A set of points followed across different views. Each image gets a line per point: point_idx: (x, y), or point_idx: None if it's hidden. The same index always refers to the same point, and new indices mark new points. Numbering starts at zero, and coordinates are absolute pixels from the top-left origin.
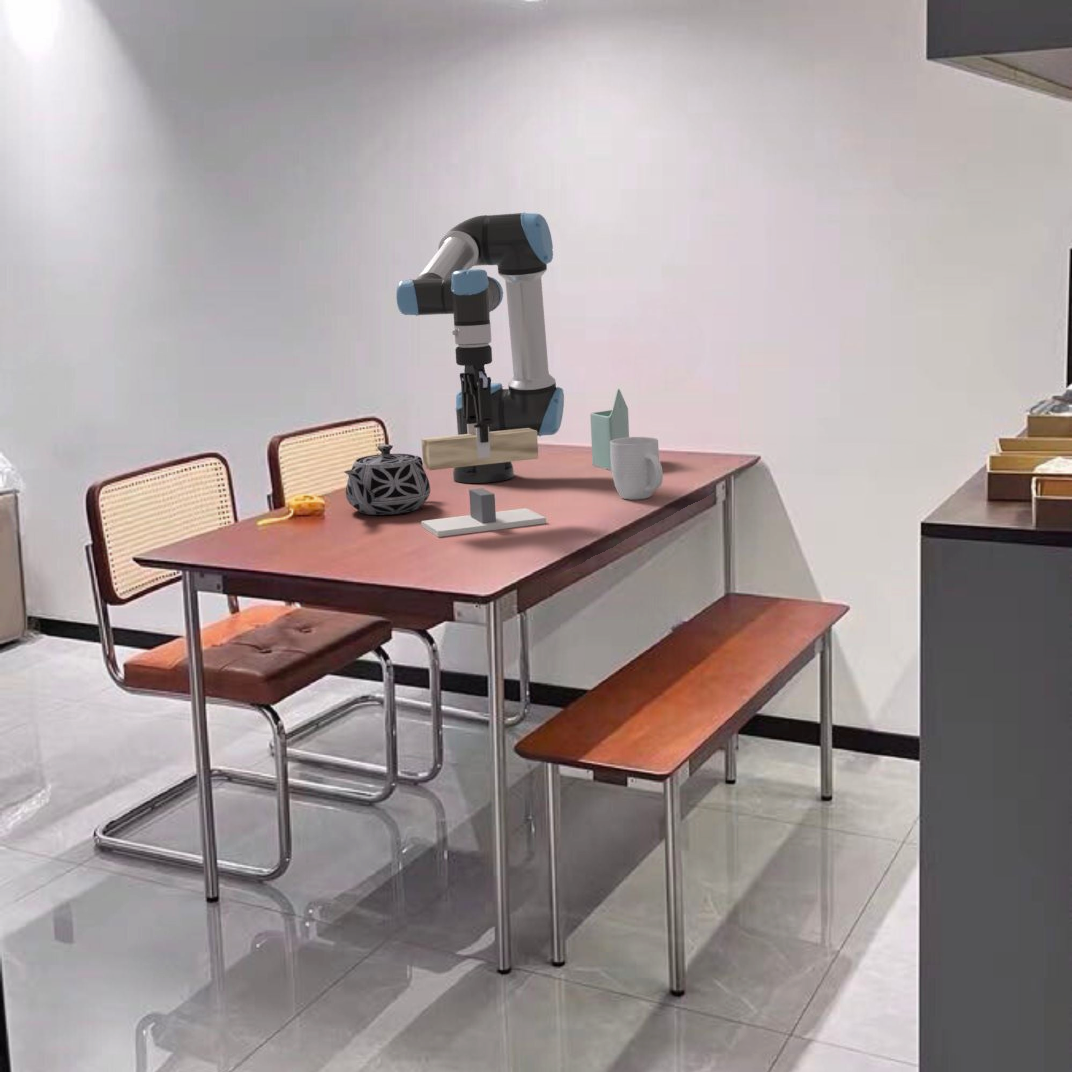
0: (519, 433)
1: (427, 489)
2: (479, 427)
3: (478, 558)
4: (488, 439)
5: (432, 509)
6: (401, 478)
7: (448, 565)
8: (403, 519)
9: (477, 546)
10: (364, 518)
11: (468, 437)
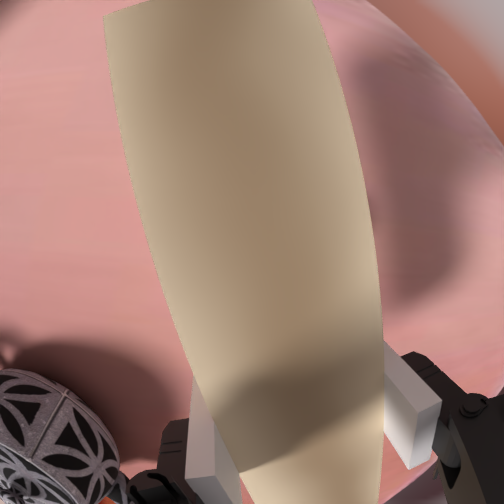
0: (343, 113)
1: (41, 388)
2: (431, 447)
3: (488, 285)
4: (394, 357)
5: (51, 356)
6: (83, 461)
7: (495, 324)
8: (136, 413)
9: (432, 286)
10: (119, 457)
11: (380, 457)
